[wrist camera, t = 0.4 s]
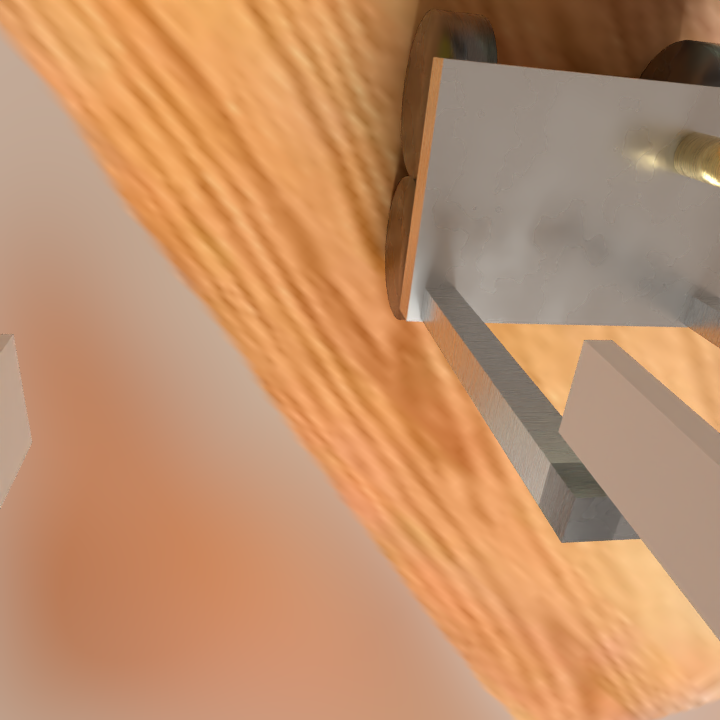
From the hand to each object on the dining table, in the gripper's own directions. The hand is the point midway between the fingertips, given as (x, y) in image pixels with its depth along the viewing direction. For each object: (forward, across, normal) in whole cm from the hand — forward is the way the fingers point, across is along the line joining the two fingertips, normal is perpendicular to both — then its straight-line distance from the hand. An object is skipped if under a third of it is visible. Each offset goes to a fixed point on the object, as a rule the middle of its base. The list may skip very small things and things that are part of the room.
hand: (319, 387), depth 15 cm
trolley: (+25, +16, +1) cm, 30 cm away
